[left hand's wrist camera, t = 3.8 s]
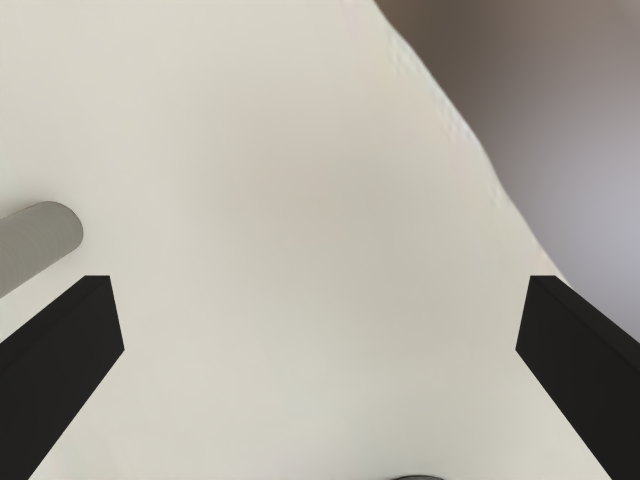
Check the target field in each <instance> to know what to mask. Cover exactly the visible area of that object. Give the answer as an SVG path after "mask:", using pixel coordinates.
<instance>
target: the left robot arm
mask: <svg viewBox="0 0 640 480" xmlns="http://www.w3.org/2000/svg"><path fill="white" fill-rule="evenodd" d="M124 350H125V349H124V344H123V339H122V334H121V329H120V324H119V320H118V315H117V310H116V305H115V300H114V295H113V290H112V285H111V280H110V276H84V277H83V278H81V279H80V280H79V281H78V282H76V283H75V284H74V285H73V286H71V287H70V288H69V289H68V290H66V291H65V292H64V293H63V294H61V295H60V296H59V297H58V298H56V299H55V300H54V301H53V302H51V303H50V304H49V305H48V306H46V307H45V308H44V309H43V310H41V311H40V312H39V313H38V314H36V315H35V316H34V317H33V318H31V319H30V320H29V321H28V322H26V323H25V324H24V325H23V326H21V327H20V328H19V329H18V330H16V331H15V332H14V333H13V334H11V335H10V336H9V337H8V338H6V339H5V340H4V341H3V342H1V343H0V480H28V479H29V478H30V476H31V475H32V474H33V472H34V471H35V470H36V468H37V467H38V466H39V464H40V463H41V462H42V460H43V459H44V458H45V456H46V455H47V454H48V452H49V451H50V449H51V448H52V447H53V445H54V444H55V443H56V441H57V440H58V439H59V437H60V436H61V435H62V433H63V432H64V431H65V429H66V428H67V427H68V425H69V424H70V423H71V421H72V420H73V419H74V417H75V416H76V415H77V413H78V412H79V410H80V409H81V408H82V406H83V405H84V404H85V402H86V401H87V400H88V398H89V397H90V396H91V394H92V393H93V392H94V390H95V389H96V388H97V386H98V385H99V384H100V382H101V381H102V380H103V378H104V377H105V376H106V374H107V373H108V371H109V370H110V369H111V367H112V366H113V365H114V363H115V362H116V361H117V359H118V358H119V357H120V355H121V354H122V353H123V351H124ZM515 350H516V351H517V353H518V354H519V355H520V357H521V358H522V359H523V361H524V362H525V363H526V365H527V366H528V367H529V369H530V370H531V371H532V373H533V374H534V376H535V377H536V378H537V380H538V381H539V382H540V384H541V385H542V386H543V388H544V389H545V390H546V392H547V393H548V394H549V396H550V397H551V398H552V400H553V401H554V402H555V404H556V405H557V406H558V408H559V409H560V410H561V412H562V413H563V415H564V416H565V417H566V419H567V420H568V421H569V423H570V424H571V425H572V427H573V428H574V429H575V431H576V432H577V433H578V435H579V436H580V437H581V439H582V440H583V441H584V443H585V444H586V445H587V447H588V448H589V449H590V451H591V452H592V454H593V455H594V456H595V458H596V459H597V460H598V462H599V463H600V464H601V466H602V467H603V468H604V470H605V471H606V472H607V474H608V475H609V476H610V478H611V479H612V480H640V343H639V342H637V341H636V340H635V339H634V338H632V337H631V336H630V335H629V334H627V333H626V332H625V331H624V330H622V329H621V328H620V327H619V326H617V325H616V324H615V323H614V322H612V321H611V320H610V319H609V318H607V317H606V316H605V315H604V314H602V313H601V312H600V311H599V310H597V309H596V308H595V307H594V306H592V305H591V304H590V303H589V302H587V301H586V300H585V299H584V298H582V297H581V296H580V295H579V294H577V293H576V292H575V291H574V290H572V289H571V288H570V287H569V286H567V285H566V284H565V283H564V282H562V281H561V280H560V279H559V278H557V277H556V276H530V280H529V285H528V290H527V295H526V300H525V305H524V310H523V315H522V320H521V324H520V329H519V334H518V339H517V344H516V349H515ZM398 480H442V479H438V478H434V477H425V476H415V477H407V478H402V479H398Z"/></svg>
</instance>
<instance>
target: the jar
mask: <svg viewBox="0 0 640 480" xmlns="http://www.w3.org/2000/svg"><path fill="white" fill-rule="evenodd" d="M82 237H83V228H82V225H81V222H80V220H79V219H78V217H77V216H76V215H75V213H74V212H73V211H71V210H70V209H69V208H67V207H66V206H64V205H62V204H59V203H55V202H42V203H39V204H37V205H34V206H32V207H29V208H27V209H25V210H22V211H20V212H17V213H15V214H13V215H10V216H8V217H5V218H3V219H1V220H0V298H2V297H3V296H5V295H6V294H8V293H9V292H11V291H12V290H14V289H15V288H17V287H18V286H20V285H21V284H23V283H24V282H26V281H27V280H29V279H30V278H32V277H33V276H35V275H37V274H38V273H40V272H41V271H43V270H44V269H46V268H47V267H49V266H50V265H52V264H53V263H55V262H56V261H58V260H59V259H61V258H62V257H64V256H65V255H67V254H68V253H70V252H71V251H73V250H74V249H76V248H77V247H78V246H79V245H80V243H81V241H82Z"/></svg>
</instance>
